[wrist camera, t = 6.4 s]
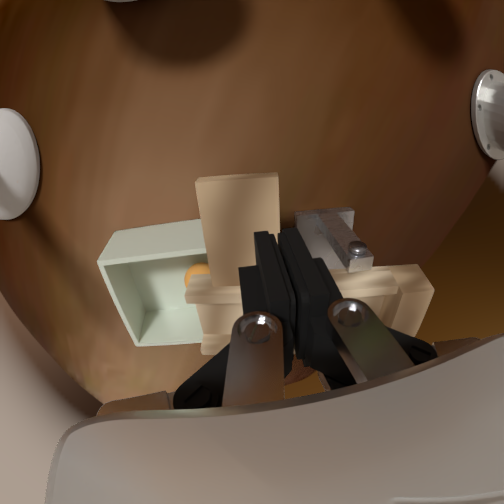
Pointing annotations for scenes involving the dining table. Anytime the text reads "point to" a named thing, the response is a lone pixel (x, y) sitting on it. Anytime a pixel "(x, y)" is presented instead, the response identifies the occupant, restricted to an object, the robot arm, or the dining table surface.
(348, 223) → the lever stand
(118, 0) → the teacup
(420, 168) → the dining table surface
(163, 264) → the pale green open box
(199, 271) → the ball
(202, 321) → the lever
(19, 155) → the candlestick
